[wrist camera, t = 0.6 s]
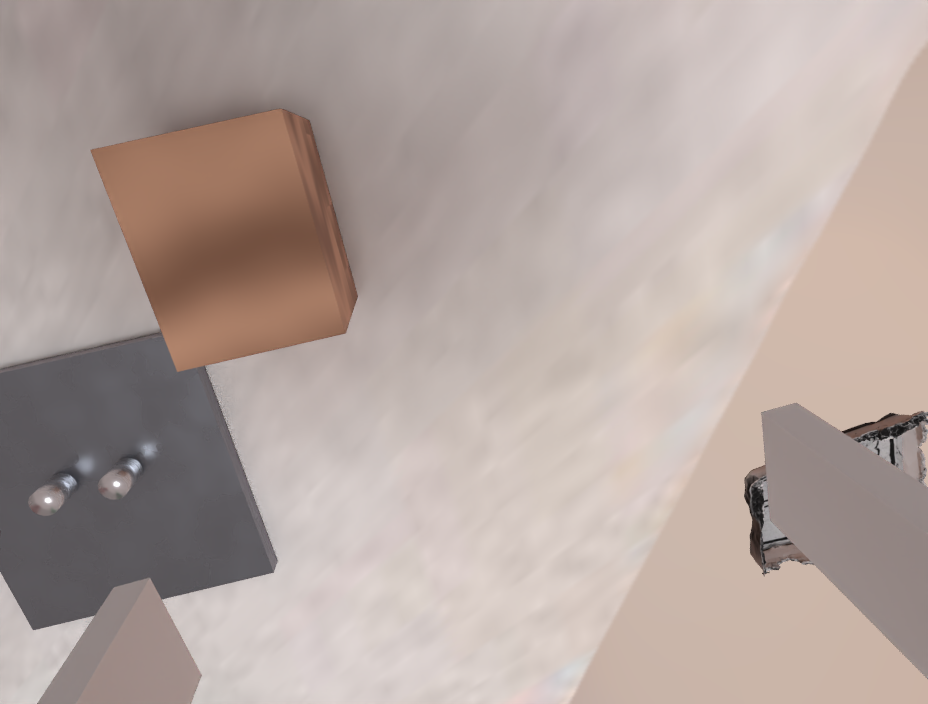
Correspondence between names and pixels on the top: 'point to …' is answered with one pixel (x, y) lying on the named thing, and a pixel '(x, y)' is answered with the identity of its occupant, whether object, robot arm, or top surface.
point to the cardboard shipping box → (232, 236)
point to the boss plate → (154, 511)
